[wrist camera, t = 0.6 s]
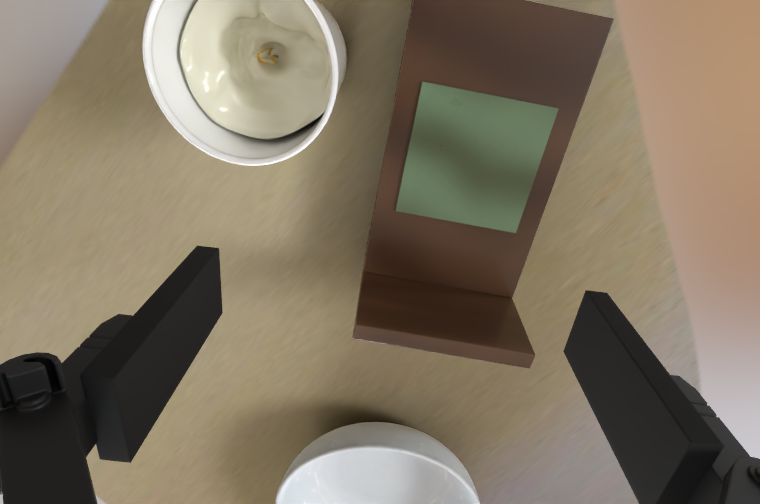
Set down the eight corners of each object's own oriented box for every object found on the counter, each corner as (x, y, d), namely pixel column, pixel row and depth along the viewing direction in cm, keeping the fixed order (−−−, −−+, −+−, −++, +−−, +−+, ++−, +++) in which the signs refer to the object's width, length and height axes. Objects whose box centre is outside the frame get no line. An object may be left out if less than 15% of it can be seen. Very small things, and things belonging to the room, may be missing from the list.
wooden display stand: (415, -16, 31) (423, -36, 21) (584, 19, 32) (678, 17, 21) (364, 256, 41) (352, 339, 30) (496, 279, 41) (529, 369, 31)
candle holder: (375, 8, 32) (363, -1, 21) (336, 141, 36) (309, 190, 26) (238, -45, 31) (151, -82, 20) (214, 99, 35) (132, 131, 24)
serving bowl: (314, 371, 47) (302, 423, 41) (503, 424, 49) (518, 481, 43) (271, 496, 56) (255, 554, 50) (432, 536, 58) (436, 596, 52)
